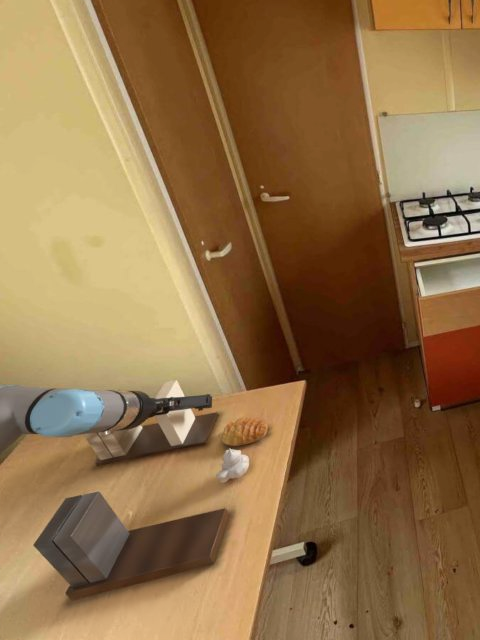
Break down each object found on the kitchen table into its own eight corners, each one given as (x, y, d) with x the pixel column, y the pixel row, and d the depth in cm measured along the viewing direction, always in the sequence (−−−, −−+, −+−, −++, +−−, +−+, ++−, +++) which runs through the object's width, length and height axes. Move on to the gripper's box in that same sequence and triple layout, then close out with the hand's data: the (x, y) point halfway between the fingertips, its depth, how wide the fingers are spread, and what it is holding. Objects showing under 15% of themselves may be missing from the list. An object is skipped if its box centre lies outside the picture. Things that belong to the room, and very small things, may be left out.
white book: (171, 446, 100) (149, 407, 94) (184, 420, 107) (165, 381, 101) (182, 444, 100) (161, 404, 94) (195, 418, 107) (176, 379, 101)
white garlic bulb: (258, 466, 96) (247, 443, 92) (230, 492, 91) (219, 468, 87) (241, 458, 98) (230, 434, 94) (214, 482, 93) (201, 458, 89)
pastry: (273, 423, 107) (269, 412, 105) (261, 446, 101) (257, 435, 99) (235, 425, 106) (230, 415, 104) (220, 448, 100) (215, 438, 99)
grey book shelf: (71, 601, 73) (24, 551, 66) (102, 545, 81) (63, 495, 74) (214, 564, 78) (184, 514, 71) (230, 515, 86) (204, 465, 79)
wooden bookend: (96, 466, 96) (67, 423, 90) (119, 433, 104) (93, 391, 98) (205, 444, 101) (184, 402, 95) (218, 414, 109) (200, 374, 103)
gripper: (39, 444, 79) (117, 435, 99) (190, 417, 85) (235, 413, 105) (44, 403, 81) (119, 402, 101) (191, 379, 87) (235, 382, 107)
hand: (178, 407), depth 103 cm, fingers open, 13 cm apart
